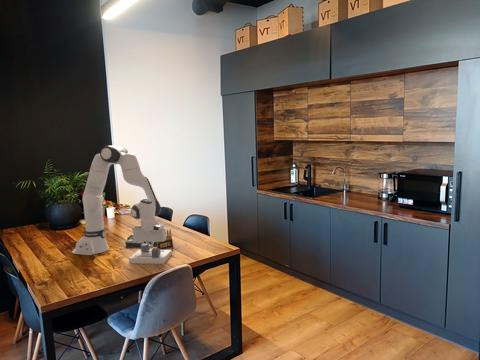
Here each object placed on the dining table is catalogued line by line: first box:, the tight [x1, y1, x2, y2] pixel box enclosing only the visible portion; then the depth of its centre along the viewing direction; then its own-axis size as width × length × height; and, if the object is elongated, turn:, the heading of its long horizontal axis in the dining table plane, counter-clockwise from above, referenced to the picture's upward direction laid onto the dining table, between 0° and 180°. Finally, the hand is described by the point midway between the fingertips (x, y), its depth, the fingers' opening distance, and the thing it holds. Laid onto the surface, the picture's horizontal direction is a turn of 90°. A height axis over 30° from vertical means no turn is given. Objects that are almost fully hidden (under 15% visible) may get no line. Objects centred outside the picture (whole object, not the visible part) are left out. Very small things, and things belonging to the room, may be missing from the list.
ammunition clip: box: [156, 229, 174, 250], centre depth 241 cm, size 11×2×12 cm, turn 125°
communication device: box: [124, 229, 157, 248], centre depth 251 cm, size 12×24×9 cm, turn 83°
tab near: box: [151, 247, 161, 257], centre depth 219 cm, size 4×4×4 cm
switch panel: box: [128, 248, 173, 265], centre depth 224 cm, size 21×15×3 cm
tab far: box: [140, 244, 151, 252], centre depth 228 cm, size 4×4×4 cm
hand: (150, 248), depth 228 cm, fingers closed
